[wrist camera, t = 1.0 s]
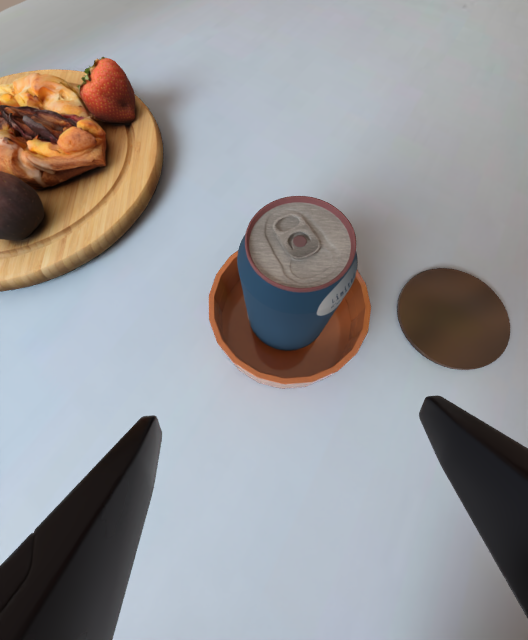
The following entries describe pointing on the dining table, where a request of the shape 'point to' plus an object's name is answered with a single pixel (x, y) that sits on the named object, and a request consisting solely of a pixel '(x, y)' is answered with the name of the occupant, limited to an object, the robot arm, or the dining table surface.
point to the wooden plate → (70, 168)
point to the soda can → (295, 269)
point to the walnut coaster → (453, 319)
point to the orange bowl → (281, 365)
